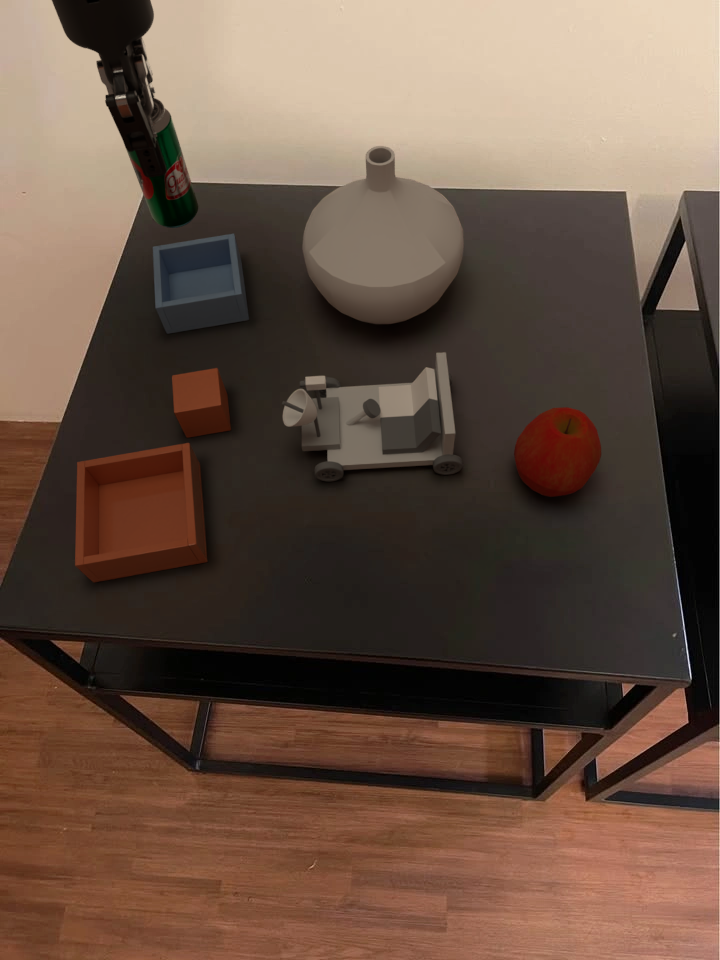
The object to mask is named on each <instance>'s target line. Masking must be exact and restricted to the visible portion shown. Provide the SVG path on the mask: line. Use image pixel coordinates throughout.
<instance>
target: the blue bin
mask: <svg viewBox="0 0 720 960" xmlns="http://www.w3.org/2000/svg"><path fill="white" fill-rule="evenodd" d="M242 261H243V260H242V257H241V253H240V250H239V246H238V243H237V239H236V235H235V233H228V234H223V235H216V236H212V237H211V236H210V237H204V238H198V239H192V240H186V241H181V242H180V241H179V242H173V243H168V244H161V245H155V246H152V263H153V282H154V303H155V304H154V305H155V306H154V307H155V310H156V312H157V315H158V317H159V320H160V322H161V324H162V326H163V329H164V331H165V333H166V334H167V335H169V334H174V333H181V332H187V331H193V330H199V329H204V328H210V327H216V326H222V325H228V324H234V323H239V322H246V321H249V320H250V316H249V310H248V302H247V293H246V292H247V291H246V286H245V284H246V283H245V278H244V277H245V276H244V270H243V264H242V263H243V262H242Z"/></svg>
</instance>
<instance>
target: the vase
mask: <svg viewBox="0 0 720 960" xmlns="http://www.w3.org/2000/svg"><path fill="white" fill-rule="evenodd" d="M365 172H366V173H365V174H366V175H365V178H362V179H357V180H354V181H351V182H349V183H346V184H344V185H341V186H339V187H337V188H335V189H334V190H333V191H331V192H329V193H328V194H327V195H325V196H324V197H322V198H321V200H320V201H319V202H318V203H317V204H316V205H315V207H314V208H312V211H311V213H310V215H309V217H308V219H307V221H306V223H305V228H304V230H303V233H302V244H301V245H302V246H301V249H302V255H303V260H304V264H305V268H306V271H307V275H308V277H309V279H310V280H311V282H312V283H313V285H314V287H316V289H317V291H319V293H320V294H321V295H322V296H323V298H324V299H325V300H326V301H327V303H328V304H330V305H331V306H332V307H333V308H335V309H336V310H337V311H338V312H340V313H341V314H343V315H346V316H347V317H350V318H353V319H355V320H357V321H359V322H363V323H369V324H372V325H392V324H397V323H402V322H405V321H407V320H410V319H412V318H414V317H416V316H419V315H421V314H423V313H425V312H426V311H427V310H429V309H430V308H432V307H433V306H434V305H436V304H437V303H438V302H439V301H440V300H441V297H442V296H443V295H444V294H445V293H446V291H447V289H448V288H449V287H450V285H451V284H452V282H453V281H454V279H455V278H456V276H457V275H458V273H459V270H460V267H461V264H462V261H463V255H464V246H465V242H464V229H463V226H462V224H461V221H460V219H459V216H458V214H457V211H456V209H455V206H453V204H452V203H451V202H450V201H449V200H448V199H447V197H445V196H444V195H443V194H442V193H441V192H439V191H438V190H436V189H435V188H433V187H431V186H430V185H429V184H425V183H423V182H419V181H417V180H414V179H412V178H405V177H398V176H396V154H395V150H394V149H392V148H390V147H388V146H386V145H385V146H384V145H377V146H373V147H371V148H369V149H368V150H367V151H366V153H365Z"/></svg>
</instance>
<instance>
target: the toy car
mask: <svg viewBox="0 0 720 960" xmlns="http://www.w3.org/2000/svg"><path fill="white" fill-rule="evenodd" d="M435 353H436V354H435V365H434V366H435V367H434V368H433V367H432V368H431V367H424V368H423V370H422V371H421V372H420V373H419V375H418V376H417V377H416V378H415V380H413V382H402V383H401V382H400V383H386V384H371V385H370V384H368V385H355V386H353V385H352V386H342V384H341V382H340V381H339V380H338V379H337V378H335V377H331V376H326V375H313V376H305V380H300V381H299V387H300V388H298V389H296V390H294V391H293V392H292V393H291V394H290V395H289V397H288V398H287V400H283V401H282V402H281V405H283V406H284V407H283V410H282V422H283V424H284V426H286V427H289V428H290V427H291V428H293V427H301V449H302V452H312V451H314V452H315V451H327V453H326V454H327V456H326V457H327V461H322V462H319V463H318V464H317V465H315V467H314V476H315V478H316V479H318V480H319V481H322V482H335V481H339V480H341V479H342V478H343V476H344V471H352V470H366V469H385V468H400V467H401V468H402V467H403V468H404V467H416V466H417V467H418V466H420V467H421V466H432V469H433V471H434V472H435V473H436V474H438V475H443V476H447V475H453V474H457V473H458V472H460V471H461V470H462V469H463V460H462V458H461V457H460V456H459V455H456V454H454V449H455V439H456V427H455V418H454V410H453V409H454V408H453V402H452V393H451V387H452V385H453V378H452V374H451V373H450V372H449V367H448V361H447V352H446V351H444V352H435ZM303 388H305V389H306V390H305V389H303ZM307 391H308V392H309V391H313V392H314V394H315V397H314V398H313V397H311V396H310V395H309V393H307Z"/></svg>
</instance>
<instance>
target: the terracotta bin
mask: <svg viewBox="0 0 720 960" xmlns="http://www.w3.org/2000/svg"><path fill="white" fill-rule="evenodd" d="M193 449H194V448H193V447H192V445H191V443H189V442H186V443H179V444H174V445H168V446H161V447H156V448H151V449H145V450H139V451H134V452H128V453H121V454H116V455H111V456H104V457H99V458H92V459H88V460H82V461H77V462H76V500H75V501H76V502H75V504H76V505H75V506H76V507H75V509H76V510H75V552H74V557H75V559H74V566H75V567H76V569H78V570H79V571H80V572H81V573H82V574H83V575H84V576H86V578H87V579H89V580H90V581H91V582H92V583H98V582H104V581H110V580H115V579H121V578H127V577H133V576H138V575H143V574H149V573H155V572H159V571H165V570H171V569H177V568H182V567H188V566H194V565H199V564H204V563H208V550H207V548H208V547H207V535H206V523H205V511H204V510H205V509H204V496H203V483H202V482H203V481H202V471H201V463H200V462H199V459H198V458H197V455H196V453H195V451H194V450H193Z"/></svg>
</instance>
